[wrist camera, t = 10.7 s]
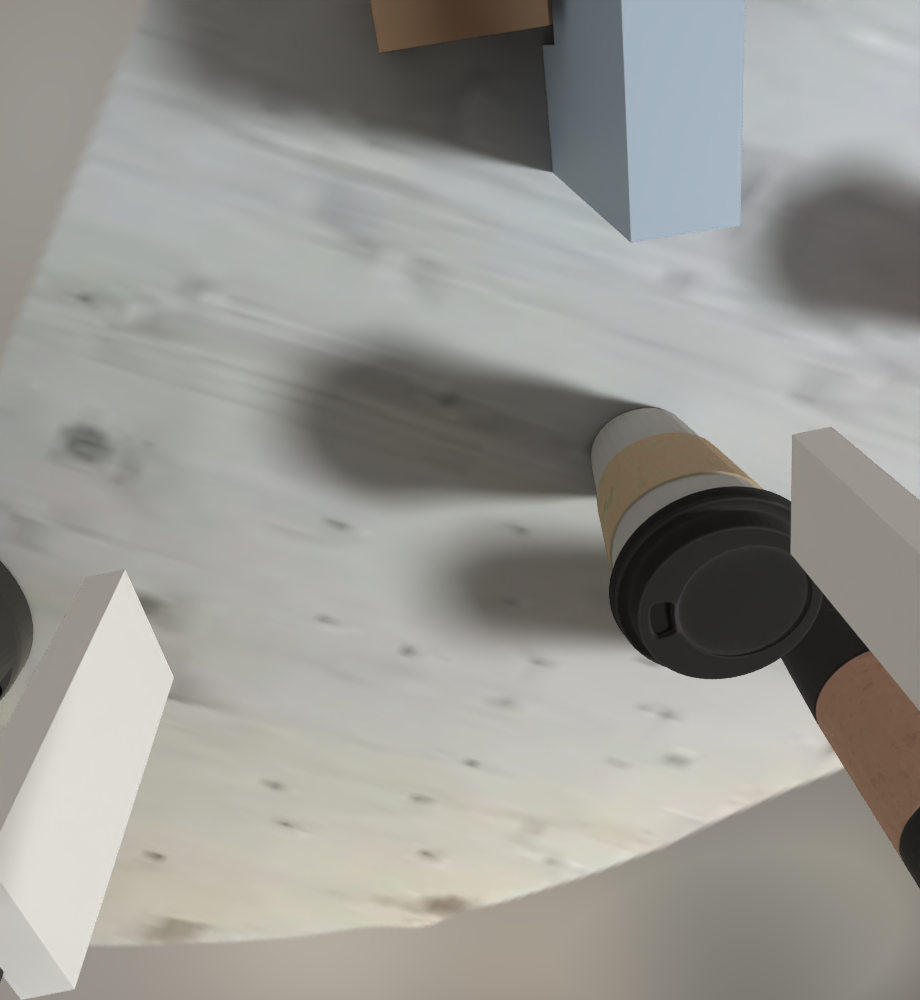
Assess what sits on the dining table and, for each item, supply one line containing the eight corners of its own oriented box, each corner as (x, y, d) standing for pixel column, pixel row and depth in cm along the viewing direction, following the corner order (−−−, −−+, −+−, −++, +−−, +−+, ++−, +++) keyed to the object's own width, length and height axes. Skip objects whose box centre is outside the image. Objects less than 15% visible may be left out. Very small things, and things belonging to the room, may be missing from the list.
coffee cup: (528, 445, 48) (575, 599, 35) (667, 342, 45) (775, 465, 32) (619, 551, 52) (693, 726, 38) (753, 461, 49) (880, 615, 36)
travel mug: (899, 576, 54) (1139, 835, 36) (832, 665, 57) (1022, 942, 40) (800, 542, 52) (1000, 796, 35) (736, 635, 55) (890, 911, 38)
